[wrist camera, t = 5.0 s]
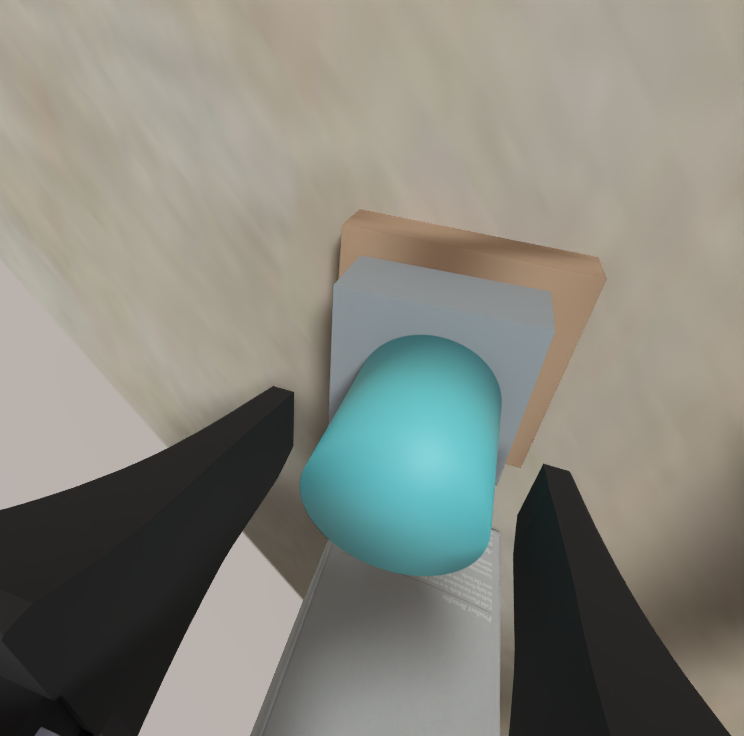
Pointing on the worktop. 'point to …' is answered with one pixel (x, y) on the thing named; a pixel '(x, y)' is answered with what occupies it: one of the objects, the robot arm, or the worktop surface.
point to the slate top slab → (442, 327)
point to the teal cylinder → (410, 459)
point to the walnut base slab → (498, 263)
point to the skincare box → (391, 653)
